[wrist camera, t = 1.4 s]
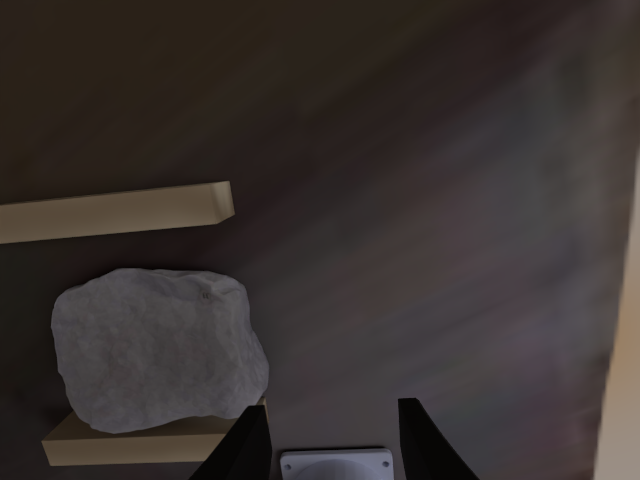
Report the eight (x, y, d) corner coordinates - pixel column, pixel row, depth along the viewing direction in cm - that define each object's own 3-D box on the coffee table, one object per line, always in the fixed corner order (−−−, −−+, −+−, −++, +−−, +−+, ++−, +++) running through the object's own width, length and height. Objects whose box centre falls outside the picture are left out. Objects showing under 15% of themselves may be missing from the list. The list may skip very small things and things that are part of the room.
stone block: (92, 272, 23) (118, 407, 23) (27, 284, 18) (61, 454, 18) (252, 245, 22) (277, 384, 22) (229, 249, 17) (261, 426, 18)
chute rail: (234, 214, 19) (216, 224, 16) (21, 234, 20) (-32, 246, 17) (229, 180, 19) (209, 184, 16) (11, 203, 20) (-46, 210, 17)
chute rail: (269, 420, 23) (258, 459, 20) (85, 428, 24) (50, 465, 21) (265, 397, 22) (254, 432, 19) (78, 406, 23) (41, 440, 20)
